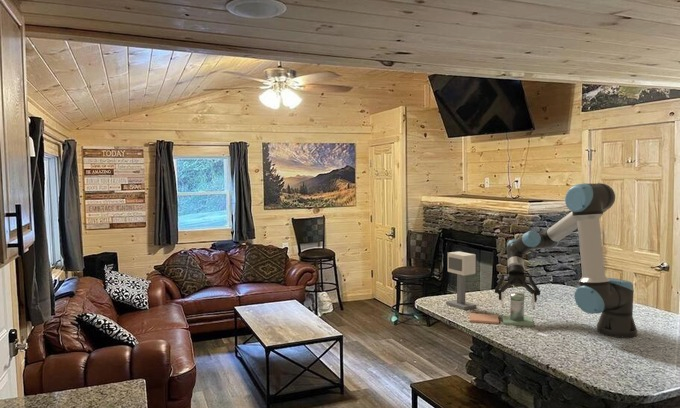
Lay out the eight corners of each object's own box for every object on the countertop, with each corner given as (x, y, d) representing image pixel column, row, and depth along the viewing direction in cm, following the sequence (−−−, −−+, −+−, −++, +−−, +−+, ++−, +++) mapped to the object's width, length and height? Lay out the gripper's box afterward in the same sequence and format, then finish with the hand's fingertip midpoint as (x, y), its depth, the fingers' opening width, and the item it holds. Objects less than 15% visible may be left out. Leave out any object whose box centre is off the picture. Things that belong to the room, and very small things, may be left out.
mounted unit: (463, 310, 251) (463, 256, 249) (445, 304, 262) (446, 252, 261) (476, 307, 256) (477, 254, 254) (458, 301, 267) (459, 251, 265)
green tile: (533, 326, 224) (533, 324, 224) (503, 324, 227) (503, 322, 227) (531, 319, 235) (531, 317, 235) (502, 317, 238) (502, 315, 238)
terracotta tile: (498, 323, 228) (498, 321, 228) (469, 321, 231) (469, 319, 231) (497, 317, 239) (497, 315, 239) (469, 315, 242) (469, 313, 242)
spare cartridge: (524, 321, 227) (525, 295, 227) (510, 320, 229) (510, 295, 228) (523, 318, 233) (523, 292, 233) (509, 317, 235) (510, 292, 234)
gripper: (542, 273, 241) (546, 312, 228) (488, 271, 248) (489, 309, 234) (544, 264, 236) (548, 304, 222) (489, 262, 242) (489, 300, 229)
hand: (518, 306), depth 228 cm, fingers open, 13 cm apart
